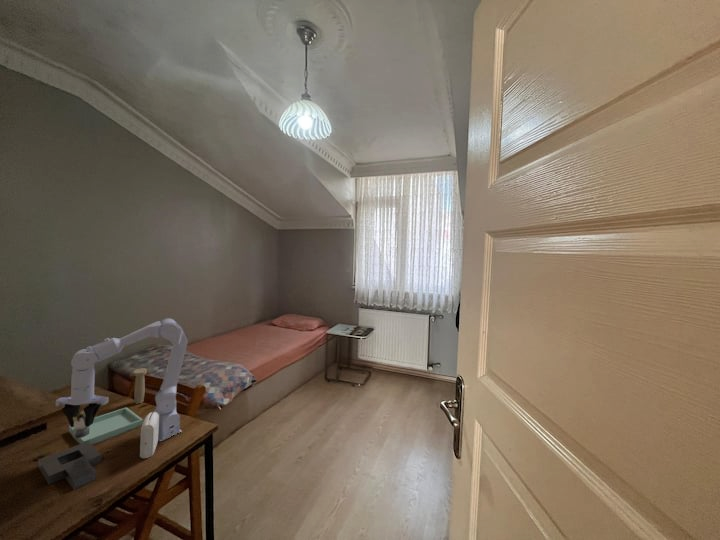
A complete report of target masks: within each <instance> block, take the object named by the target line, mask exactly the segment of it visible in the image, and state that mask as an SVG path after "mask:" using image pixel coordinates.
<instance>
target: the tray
mask: <svg viewBox="0 0 720 540" xmlns="http://www.w3.org/2000/svg"><path fill="white" fill-rule="evenodd" d="M143 421H144V419H143V418H142V417H141V416H139V415H137V414H136V413H135V412H133V411H132V410H131V409H130V408H128V407H127V406H126V407H123V408H120V409H117V410H114V411H111V412H108V413H105V414H102V415H101V414H100V415H98V416H95V418H94V421H93V424H91V425H90V433H89V434H88V435H87V436H84V437H82V438H74V440H75V441H76V442H77V444H78V445H79V444H82V443H85V442H87V441H89V442H90V443H91V444H92V446H95V445H96V444H99V443H101V442H103V441H106V440H110V439H113V438H114V437H117V436H119V435H122V434H124V433H128V432H131V431H133V430H135V428H136V429H138V428H141V427H140V426H142V423H143ZM73 428H74V427H71V426H70V425H69V428H68V433H69V434H70V436H72V437H73Z"/></svg>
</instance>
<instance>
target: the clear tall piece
mask: <svg viewBox="0 0 720 540" xmlns="http://www.w3.org/2000/svg"><path fill="white" fill-rule="evenodd" d="M73 421H74V428H73V436H72V437H73V439H75V438H82V437H84V436H87V435H88V434H89V433H90V426H89V427H86V416H85V412H84V410H83V409H82V411H79V414H77V415H76V416H74V417H73Z"/></svg>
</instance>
